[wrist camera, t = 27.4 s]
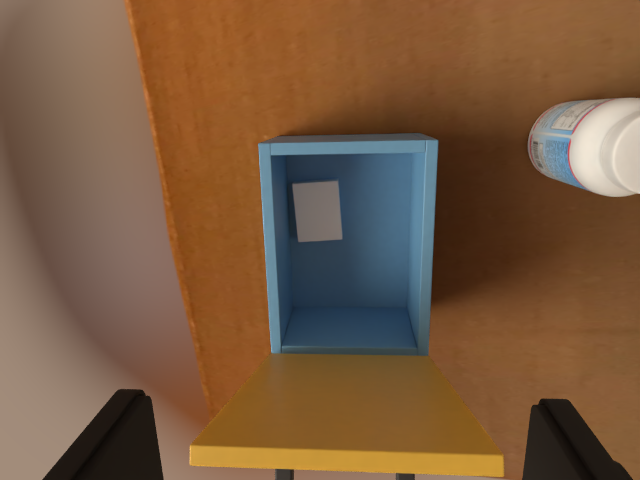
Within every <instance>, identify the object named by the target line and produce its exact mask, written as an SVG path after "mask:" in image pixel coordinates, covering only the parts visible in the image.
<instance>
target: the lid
mask: <svg viewBox="0 0 640 480" xmlns="http://www.w3.org/2000/svg"><path fill="white" fill-rule="evenodd" d="M190 465H191V466H215V467H243V468H271V469H275V480H294V469H299V470H326V471H327V470H328V471H356V472H384V473H396V480H415V479H414V478H415V474H439V475H440V474H441V475H467V476H495V477H504V455H503V454H502V452H501V451H500V450H499V448H498V447H497V446H496V444H495V443H494V442H493V440H492V439H491V438H490V436H489V435H488V434H487V432H486V431H485V430H484V428H483V427H482V426H481V424H480V423H479V422H478V420H477V419H476V418H475V416H474V415H473V414H472V412H471V411H470V410H469V408H468V407H467V406H466V404H465V403H464V402H463V400H462V399H461V398H460V397H459V395H458V394H457V393H456V391H455V390H454V389H453V387H452V386H451V385H450V383H449V382H448V381H447V379H446V378H445V377H444V375H443V374H442V373H441V371H440V370H439V369H438V367H437V366H436V365H435V363H434V362H433V361H432V359H431V358H430V357H429V356H406V355H343V354H279V353H271V354H270V355H269V356H268V357H267V358H266V359H265V360H264V361H263V363H262V364H261V365H260V366H259V367H258V368H257V369H256V371H255V372H254V373H253V374H252V375H251V376H250V377H249V379H248V380H247V381H246V382H245V383H244V384H243V385H242V387H241V388H240V389H239V390H238V391H237V392H236V393H235V395H234V396H233V397H232V398H231V399H230V400H229V401H228V403H227V404H226V405H225V406H224V407H223V408H222V409H221V410H220V412H219V413H218V414H217V415H216V416H215V417H214V418H213V420H212V421H211V422H210V423H209V424H208V425H207V426H206V428H205V429H204V430H203V431H202V432H201V433H200V434H199V436H198V437H197V438H196V439H195V440H194V441H193V442H192V444H191V445H190Z"/></svg>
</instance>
